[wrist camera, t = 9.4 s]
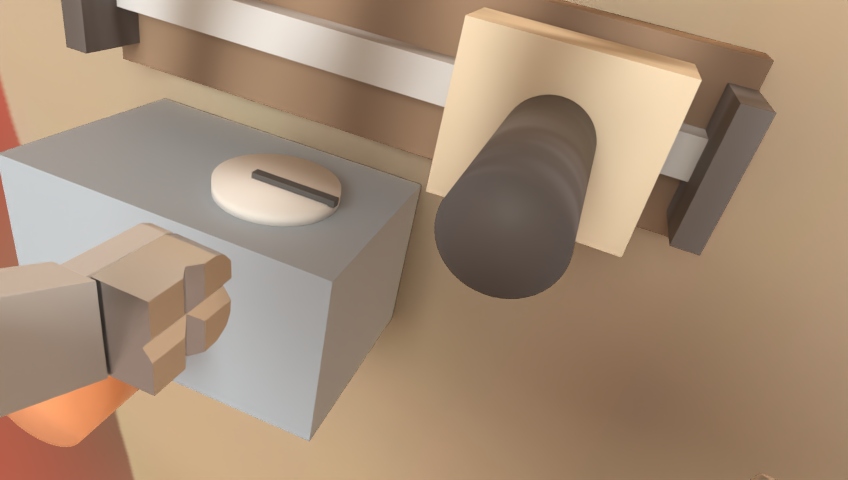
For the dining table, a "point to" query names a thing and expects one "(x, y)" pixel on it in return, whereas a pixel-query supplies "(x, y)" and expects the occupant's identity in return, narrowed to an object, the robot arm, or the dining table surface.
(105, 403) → the button
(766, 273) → the dining table surface
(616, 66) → the carriage
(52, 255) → the gauge cabinet
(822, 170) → the dining table surface
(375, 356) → the dining table surface
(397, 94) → the rail
